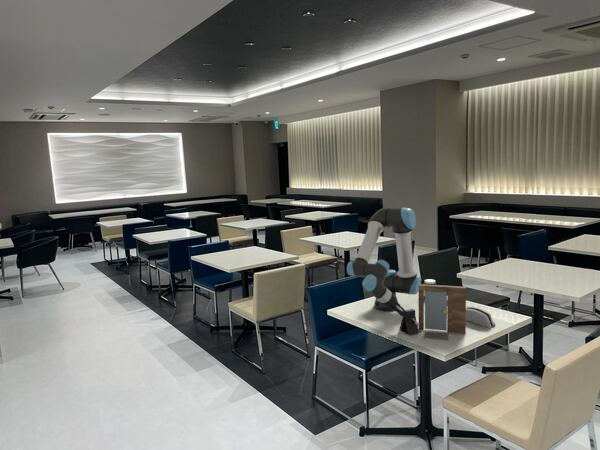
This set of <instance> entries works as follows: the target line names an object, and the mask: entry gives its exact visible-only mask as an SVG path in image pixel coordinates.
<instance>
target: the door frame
mask: <svg viewBox="0 0 600 450" xmlns="http://www.w3.org/2000/svg"><path fill="white" fill-rule="evenodd" d="M423 284H424V283H423ZM423 284H422V283H421V284H419V291H418V323H419V324H420V325H419V326H418V329H419V331H424V330H425V298H424V290H426V291H443V292H447V331H446V333H449V334H457V335H458V334H459V335H466V329H467V327H466V326H467V322H466V321H467V320H466V308H467V286H457V285H439V284H438V285H437V284H436V285H423Z"/></svg>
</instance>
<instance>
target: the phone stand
mask: <svg viewBox="0 0 600 450" xmlns="http://www.w3.org/2000/svg"><path fill="white" fill-rule="evenodd" d="M404 310H405V311H406V312H408V313H409V314H410V315H411V316H412V317H413V319H414V320H415V321H417V317H416V310H415V309H414V308H410V309H404ZM407 321H408V320H407V319H406V318H405V317H404V316H403V317H402V316H401V322H400V325H399V330H398V331H400V332H402V333H403V334H406V335H408V336H414V335H419V334H420V330H419V326H418V325H417V324H413V323H412V322H407Z"/></svg>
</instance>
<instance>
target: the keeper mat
mask: <svg viewBox="0 0 600 450" xmlns="http://www.w3.org/2000/svg"><path fill="white" fill-rule="evenodd" d="M423 339H427V340H438V341H449V340H450V333H447V332H437V331H427V330H425V331H424V336H423Z"/></svg>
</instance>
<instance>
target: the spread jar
mask: <svg viewBox="0 0 600 450" xmlns="http://www.w3.org/2000/svg"><path fill="white" fill-rule="evenodd" d="M423 285H437V283H436V280H435V279H431V278H430V279H424V283H423ZM424 299H425V290H424Z"/></svg>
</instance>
